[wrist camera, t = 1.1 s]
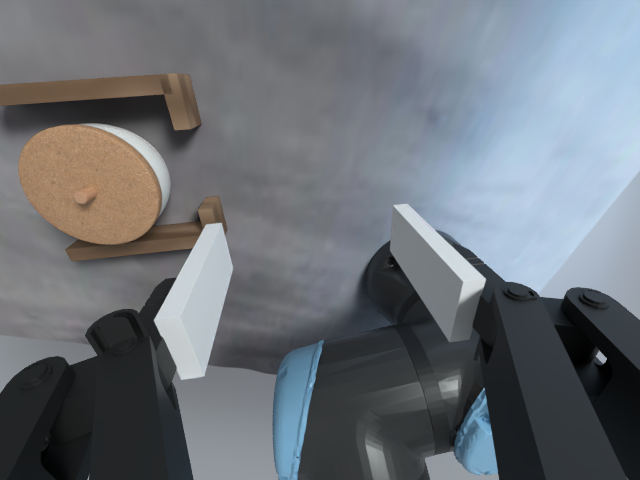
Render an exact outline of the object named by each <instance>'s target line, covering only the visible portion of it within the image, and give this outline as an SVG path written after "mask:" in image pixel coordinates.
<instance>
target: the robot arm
mask: <svg viewBox="0 0 640 480" xmlns="http://www.w3.org/2000/svg"><path fill="white" fill-rule="evenodd" d="M232 271H233V266H232V262H231V258H230V254H229V250H228V246H227V242H226V238H225V234H224V230H223V226H222V223H216V224H206V226H205V227H204V229H203V231H202V233H201V235H200V237H199V238H198V240H197V242H196V244H195V246H194V248H193V249H192V251H191V253H190V255H189V257H188V259H187V260H186V262H185V264H184V266H183V268H182V270H181V271H180V273H179V275H178V277H177V278H170V279H165V280H164V281H163V282H161V283H160V284H159V285H158V286H157V287H155V289H154V291H153V292H152V294H151V295H150V298H149V299H148V300H147V302H146V303H145V306H144V307H143V308H142V310H141V311H140V313H139V314H138V312H137V311H136V310H133V309H122V310H118V311H115V312H112V313H110V314H107V315H105V316H103V317H102V318H100V319H99V320H97V321H96V322H94V323H93V324H92V325H91V327H90V328H89V329H88V330H87V332H86V335H85V336H86V338H87V339H88V341H89V343H90V344H91V346H92V347H93V349H94V350H95V352H96V353H97V355H98V356H95V357H93V358H90V359H87V360H84V361H81V362H78V363H76V364H73V365H69V364H68V363H67V361H66V360H65V359H64V358H62V357H58V356H56V357H49V358H45V359H43V360H40V361H37V362H36V363H33V364H31V365H29V366H28V367H26V368H24V369H23V370H22V371H20V372H19V373H18V374H17V375H15V376H14V377H13V378H12V379H11V381H10V382H9V383H8V384H7V385H6V386H5V388H4V389H3V391H2V392H1V393H0V480H87V479H88V476H89V480H193V475H192V470H191V464H190V460H189V455H188V449H187V444H186V439H185V434H184V430H183V424H182V419H181V414H180V409H179V404H178V399H177V394H176V390H175V387H174V385H173V383H172V379H173V377H174V374H175V371H176V369H177V371H178V374H179V376H180V378H181V380H185V379H191V378H198V377H204V376H205V372H206V368H207V365H208V361H209V357H210V353H211V350H212V346H213V342H214V338H215V335H216V331H217V327H218V323H219V320H220V316H221V312H222V308H223V305H224V301H225V297H226V293H227V290H228V286H229V282H230V278H231V275H232ZM365 281H366V289H367V292H368V295H369V297H370V299H371V302H372V304H373V305H374V307H375V308H376V310H377V311H378V312H379V313H380V314H382V315H383V316H384V317H385V318H386V319H387V320H388V321H389V322H390V323H391V324H392V325H393V326H387V327H383V328H379V329H374V330H370V331H365V332H361V333H357V334H352V335H348V336H344V337H339V338H335V339H330V340H326V341H325V340H320V341H319V343H315V344H312V345H308V346H305V347H301V348H298V349H295V350H292V351H291V352H289V353H288V354H287V355H286V356H285V357H284V359H283V360H282V362H281V364H280V367H279V370H278V374H277V378H276V385H275V392H274V404H273V448H274V460H275V467H276V471H277V473H278V477H279V480H430V477H429V474H428V470H427V466H426V463H425V458H426V457H430V456H434V455H437V454H441V453H446V452H451V451H453V452H454V455H455V457H456V459H457V460H458V462H459V463H461V464H462V466H463V467H464V468H465V469H466V470H467V471H468V472H470V473H473V474H477V475H480V474H482V473H483V474H485V475H491V474H495V473H498V475H499V480H627V479H628V480H640V320H639V319H638V318H636V317H635V316H634V315H633V314H632V313H631V312H629V311H628V310H627V309H626V308H625V307H623V306H622V305H621V304H620V303H619V302H617V301H616V300H614V299H613V298H611V297H610V296H608V295H606V294H603V293H601V292H599V291H597V290H593V289H589V288H579V287H578V288H571V289H569V290H568V291H567V292H566V294H565V296H564V299H555V298H544V297H540V296H539V295H538V294H537V292H535V291H534V290H532V289H531V288H529V287H527V286H524V285H522V284H518V283H514V282H505V281H504V280H503V279H502V278H501V277H500V276H498V275H497V274H496V273H495V272H494V271H493V270H492V269H491V268H489V267H488V266H487V265H486V264H484V262H483V261H481V260H480V259H479V258H477V256H476V255H475V254H474V253H472V252H471V251H470V250H469V249H467V248H464V247H462V246H461V245H460V244H459V243H458V242H457V241H456V240H455V239H454V238H452V237H451V236H450V235H448V234H446V233H444V232H441V231H437V230H434V229H433V228H432V227H431V226H430V225H429V224H428V223H427V222H426V221H425V220H424V219H423V218H422V217H420V216H419V215H418V214H417V213H416V212H415V211H414V210H413V209H412V208H411V207H410V206H409V205H408V204H401V205H393V212H392V227H391V241H389V242H388V243H387V244H385V245H384V246H383V247H382V248H381V249H380V250H379V251H378V252H377V253H376V255H375V256H374V257H373V259H372V261H371V262H370V264H369V267H368V269H367V273H366V280H365ZM599 350H600V351H601V353H602V354H603V355H604V356H605V357H606V358H607V360H606V362H605V363H604V364H603V363H601V361H599V359H598V358H597V357H596V355H597V353H598V352H599ZM89 473H90V474H89ZM626 477H627V478H626Z"/></svg>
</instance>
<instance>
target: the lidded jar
mask: <svg viewBox="0 0 640 480" xmlns="http://www.w3.org/2000/svg"><path fill="white" fill-rule="evenodd" d="M19 177H20V182H21V185H22V188H23V190H24V192H25V194H26V196H27V198H28V200H29V201H30V203H31V204H32V205H33V207H34V208H35V209H36V210H37V211H38V212H39V214H40V215H41V216H42V217H43V218H45V219H46V220H47V221H48V222H49V223H51V224H52V225H53V226H55V227H56V228H58V229H59V230H61V231H63V232H64V233H66V234H68V235H70V236H73V237H75V238H77V239H80V240H83V241H87V242H91V243H96V244H105V245H114V244H123V243H127V242H130V241H133V240H136V239H138V238H139V237H141V236H143V235H144V234H145V233H146V232H147V231H148V230H150V228H151V227H152V226H153V225H154V223H155V222H156V221H157V219H158V217H159V216H160V215H161V213H162V212H163V210H164V208H165V206H166V204H167V202H168V199H169V195H170V189H171V182H170V175H169V172H168V168H167V166H166V164H165V162H164V160H163V159H162V157H161V155H160V154H159V153H158V152H157V150H156V149H155V148H154V147H153V146H152V145H151V144H150V143H148V142H147V141H146V140H144V139H143V138H141V137H140V136H138V135H136V134H134V133H133V132H131V131H128V130H126V129H123V128H120V127H116V126H112V125H106V124H94V123H90V124H76V125H61V126H56V127H51V128H48V129H45V130H43V131H41V132H39V133H37V134H36V135H34V136H33V137H31V139H30V140H29V141H28V142H27V143H26V144H25V146H24V148H23V150H22V152H21V155H20V159H19Z"/></svg>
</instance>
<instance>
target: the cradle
mask: <svg viewBox="0 0 640 480" xmlns="http://www.w3.org/2000/svg"><path fill="white" fill-rule="evenodd" d="M161 94H164V96H165V99H166V103H167V106H168V110H169V113H170V117H171V120H172V124H173V127H174V130H186V129H192V128H194V127H196V126H199V125H201V120H200V115H199V111H198V107H197V103H196V99H195V95H194V91H193V87H192V83H191V78H190V75H186V74H177V73H175V74H160V75H144V76H129V77H114V78H98V79H83V80H68V81H52V82H37V83H22V84H7V85H0V106H4V105H18V104H33V103H47V102H61V101H75V100H90V99H104V98H118V97H132V96H146V95H161ZM198 213H199V217H200V220H201V221H199V222H189V223H180V224H170V225H160V226H152V227H151V228H150V230H148V231H147V232H146V233H145V234H144V235H143V236H141V237H139V238H138V239H136V240H133V241H130V242H127V243H123V244H114V245H105V244H96V243H91V242H87V241H83V240H80V239H79V240H77V241H76V242H75V243H73V244H72V245H71V246H69V247H68V248H67V249H65V251H66V252H67V254H68V256H69V257H70V259H71V261H80V260H89V259H98V258H107V257H117V256H126V255H135V254H144V253H154V252H163V251H172V250H181V249H190V248H194V246H195V244H196V242H197V240H198V238H199V237H200V235H201V233H202V231H203V229H204V227H205V226H206V224H216V223H222V226H223V230H224V234H225V235H226V232H227V226H226V222H225V218H224V214H223V210H222V206H221V202H220V197H219V196H213V197H206V198H205V200H204V201H203V203H202V204H201V206H200V207H199V209H198Z"/></svg>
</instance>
